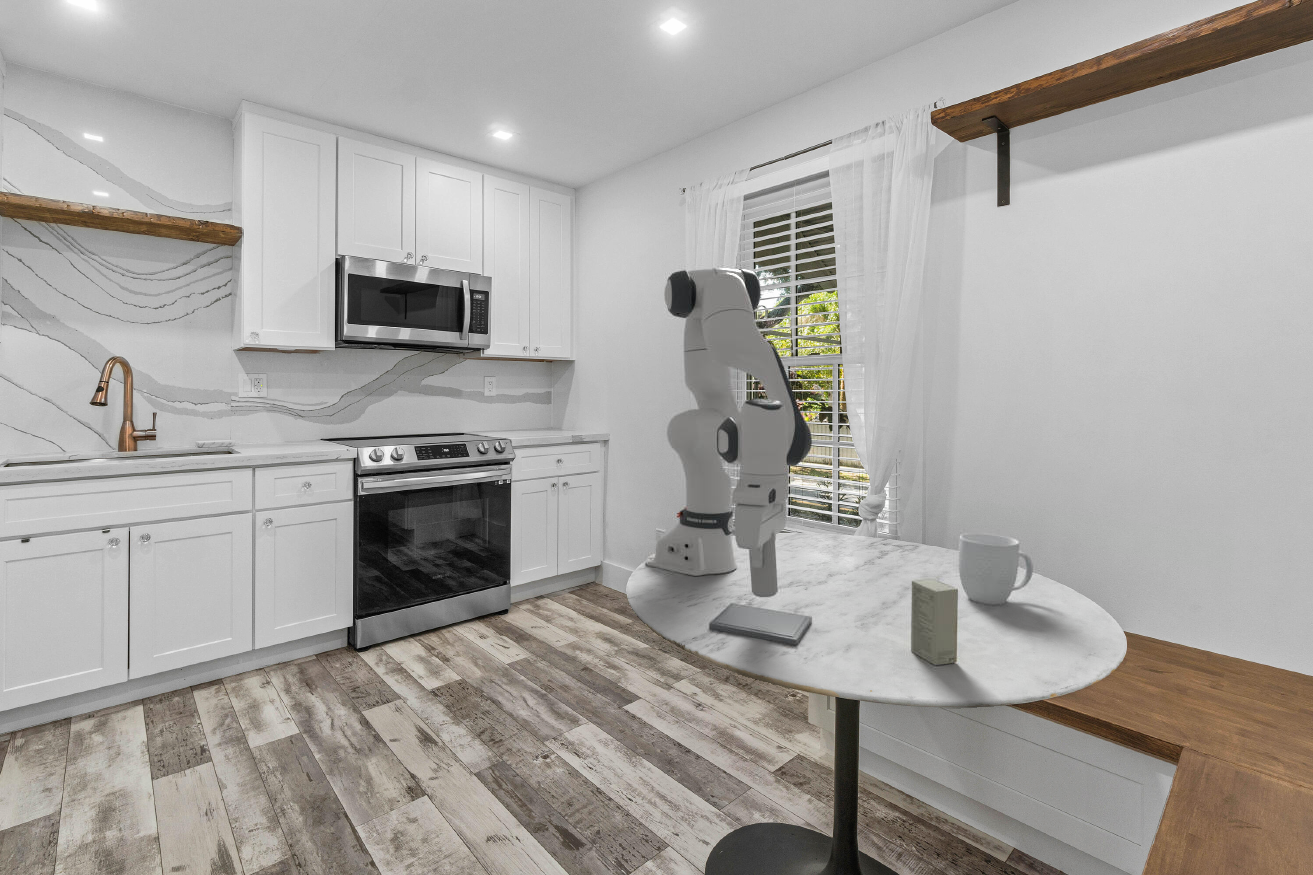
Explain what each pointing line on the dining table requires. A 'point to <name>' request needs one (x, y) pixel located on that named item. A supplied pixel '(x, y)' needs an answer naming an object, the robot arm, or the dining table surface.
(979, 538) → the mug
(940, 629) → the skincare box
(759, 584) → the beverage can
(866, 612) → the dining table surface
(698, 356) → the robot arm
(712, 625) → the slate coaster
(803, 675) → the dining table surface
